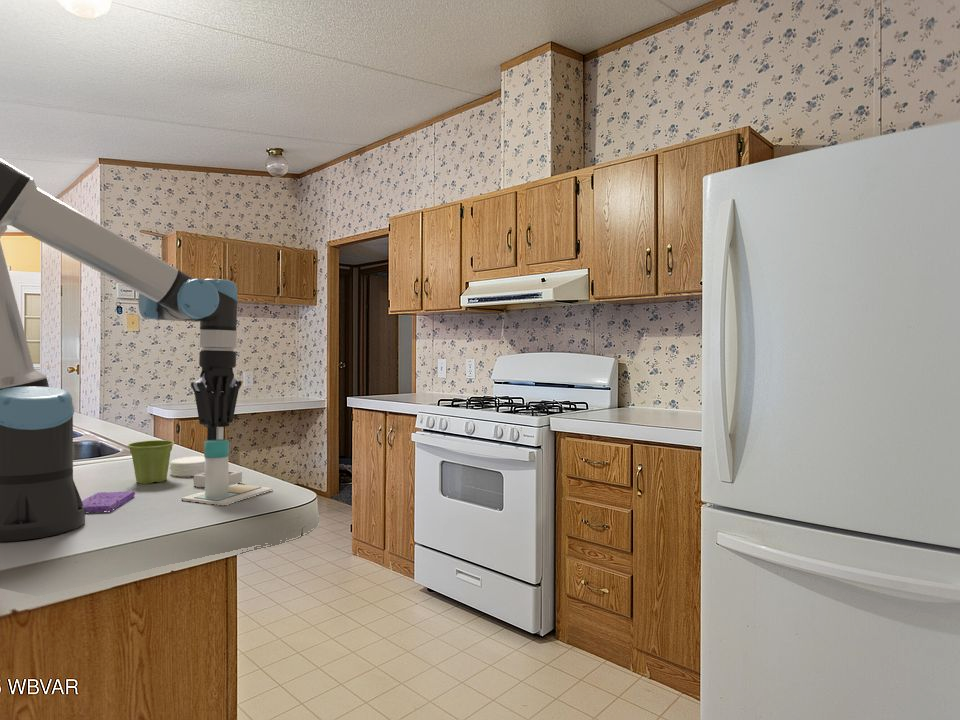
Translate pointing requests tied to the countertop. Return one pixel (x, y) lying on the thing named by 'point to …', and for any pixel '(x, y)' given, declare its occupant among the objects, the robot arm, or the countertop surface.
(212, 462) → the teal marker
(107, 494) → the sponges
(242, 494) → the picture card
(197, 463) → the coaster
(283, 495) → the countertop surface
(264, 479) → the countertop surface
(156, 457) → the plant pot
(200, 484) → the button housing
